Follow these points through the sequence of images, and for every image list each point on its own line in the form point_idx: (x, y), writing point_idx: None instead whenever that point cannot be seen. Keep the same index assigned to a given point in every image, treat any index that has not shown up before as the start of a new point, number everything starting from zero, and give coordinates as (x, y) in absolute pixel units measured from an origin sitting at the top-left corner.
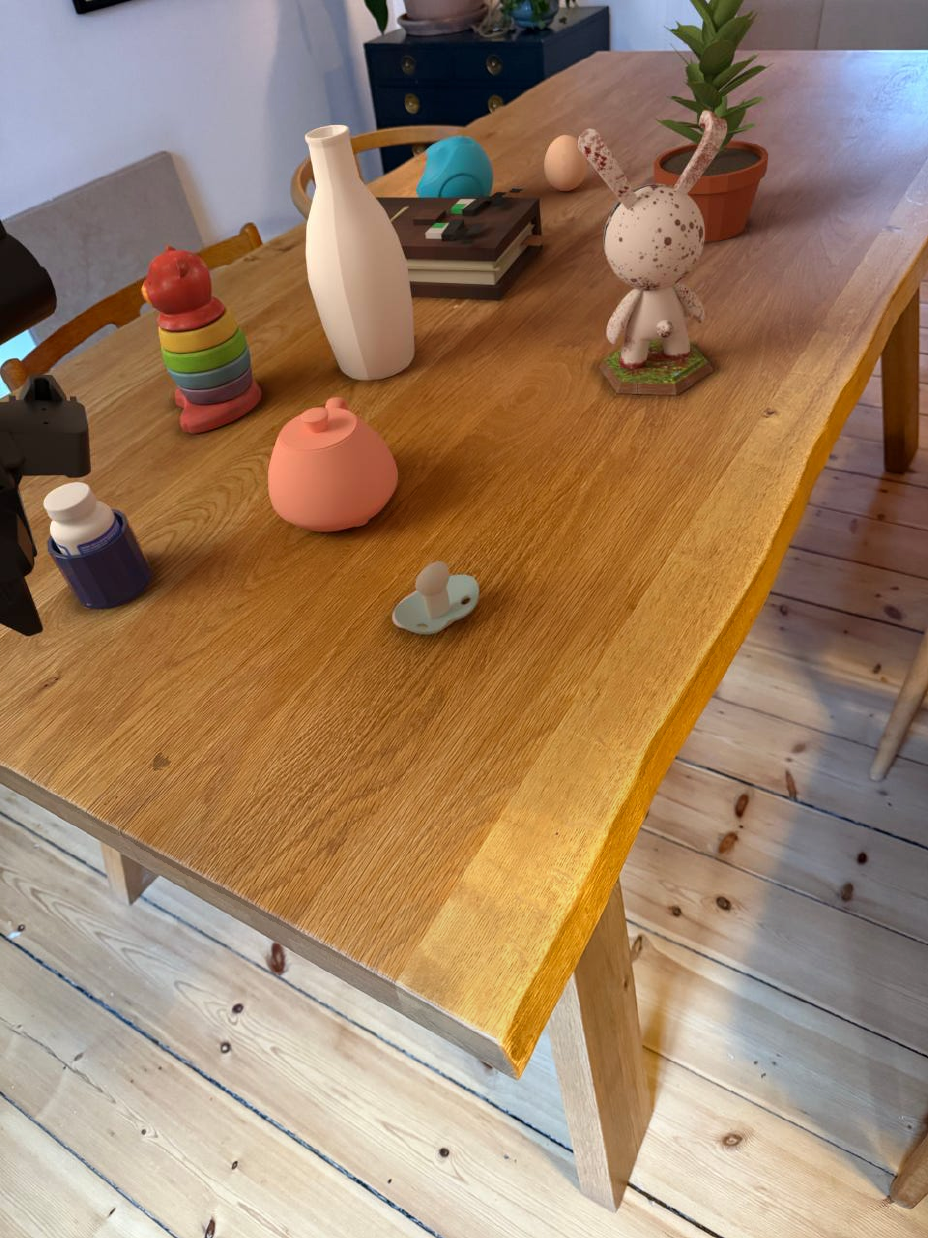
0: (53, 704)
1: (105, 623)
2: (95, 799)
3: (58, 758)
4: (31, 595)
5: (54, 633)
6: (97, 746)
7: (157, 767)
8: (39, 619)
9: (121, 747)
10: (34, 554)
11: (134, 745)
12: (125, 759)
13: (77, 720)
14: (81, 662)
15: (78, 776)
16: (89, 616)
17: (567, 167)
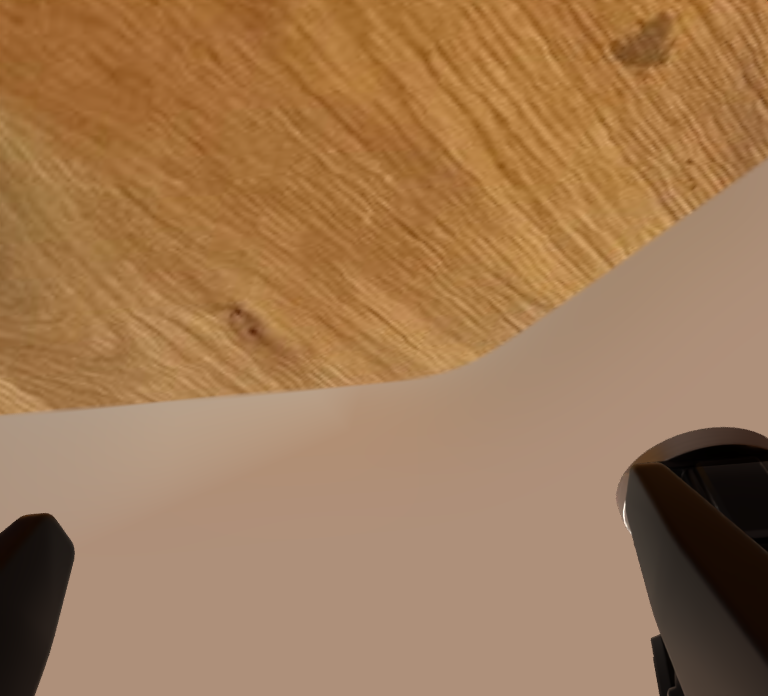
0: (320, 313)
1: (48, 211)
2: (663, 210)
3: (493, 293)
4: (765, 639)
5: (74, 327)
6: (500, 213)
7: (659, 54)
8: (696, 507)
9: (534, 155)
10: (45, 525)
11: (545, 120)
12: (580, 143)
13: (393, 261)
14: (192, 263)
15: (571, 250)
16: (16, 253)
17: None
